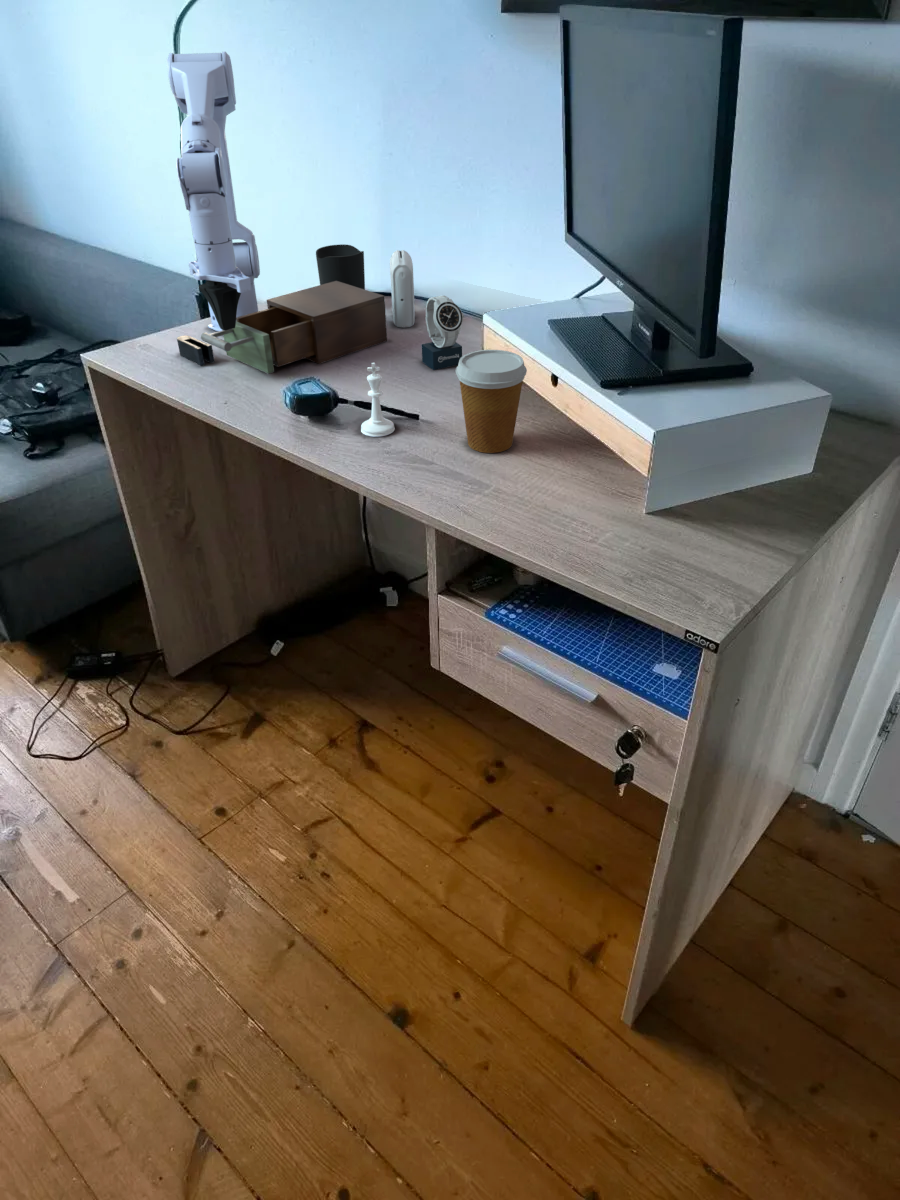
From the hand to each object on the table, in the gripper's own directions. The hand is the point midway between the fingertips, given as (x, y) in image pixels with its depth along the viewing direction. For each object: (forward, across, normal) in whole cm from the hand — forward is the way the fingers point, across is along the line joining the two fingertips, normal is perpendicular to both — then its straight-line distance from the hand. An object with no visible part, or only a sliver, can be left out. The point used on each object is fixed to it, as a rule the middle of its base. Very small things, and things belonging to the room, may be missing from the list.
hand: (228, 328), depth 139 cm
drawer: (+7, 0, +7) cm, 10 cm away
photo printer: (+8, 0, +38) cm, 39 cm away
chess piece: (+8, +34, +2) cm, 35 cm away
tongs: (+8, -11, -1) cm, 13 cm away
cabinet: (+8, 0, +20) cm, 22 cm away
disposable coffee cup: (+8, +49, +10) cm, 51 cm away
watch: (+8, +22, +27) cm, 36 cm away
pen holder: (+8, -17, +37) cm, 42 cm away
